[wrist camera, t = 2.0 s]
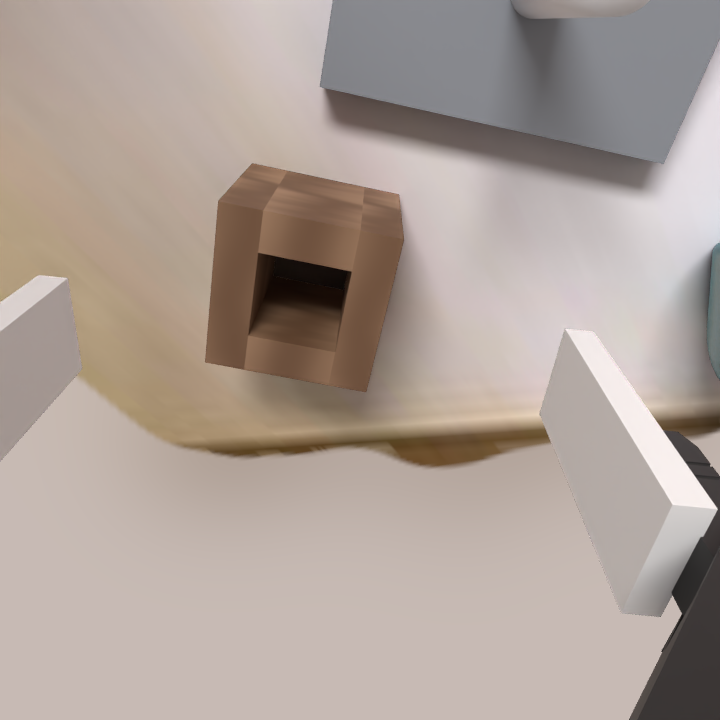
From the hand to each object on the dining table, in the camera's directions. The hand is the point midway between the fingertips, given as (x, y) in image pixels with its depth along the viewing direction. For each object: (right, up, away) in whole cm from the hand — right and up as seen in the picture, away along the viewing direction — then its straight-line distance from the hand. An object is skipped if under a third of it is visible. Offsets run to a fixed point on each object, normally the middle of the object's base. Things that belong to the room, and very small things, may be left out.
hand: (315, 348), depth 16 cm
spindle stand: (+9, +18, +13) cm, 23 cm away
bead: (-2, +6, +19) cm, 20 cm away
